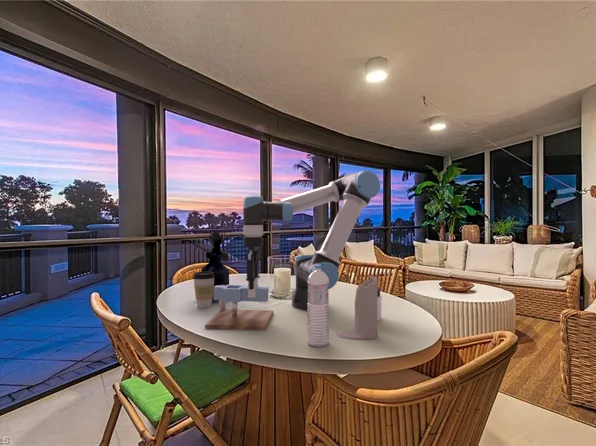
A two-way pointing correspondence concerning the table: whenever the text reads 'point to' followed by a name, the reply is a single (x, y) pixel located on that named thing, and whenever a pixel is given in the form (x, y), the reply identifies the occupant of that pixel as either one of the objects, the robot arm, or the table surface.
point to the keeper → (221, 304)
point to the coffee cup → (204, 288)
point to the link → (239, 293)
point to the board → (241, 320)
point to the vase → (217, 260)
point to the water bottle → (318, 308)
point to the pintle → (234, 309)
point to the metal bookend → (364, 312)
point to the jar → (378, 305)
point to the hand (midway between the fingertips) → (253, 295)
